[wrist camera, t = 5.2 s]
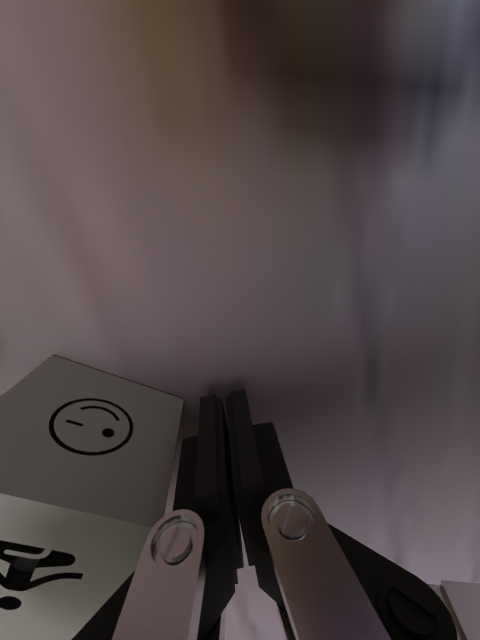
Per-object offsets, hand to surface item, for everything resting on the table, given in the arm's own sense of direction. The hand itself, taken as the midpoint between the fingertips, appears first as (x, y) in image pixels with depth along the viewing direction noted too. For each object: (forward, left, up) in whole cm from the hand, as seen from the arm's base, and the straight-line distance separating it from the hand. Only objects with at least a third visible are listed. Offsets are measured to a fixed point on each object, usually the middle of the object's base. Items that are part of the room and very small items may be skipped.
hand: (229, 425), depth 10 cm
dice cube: (+5, 0, -1) cm, 5 cm away
